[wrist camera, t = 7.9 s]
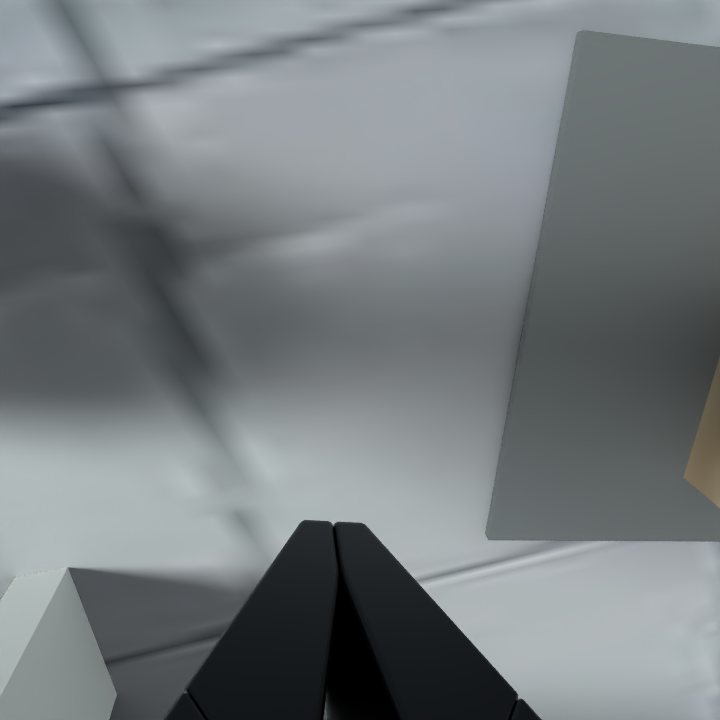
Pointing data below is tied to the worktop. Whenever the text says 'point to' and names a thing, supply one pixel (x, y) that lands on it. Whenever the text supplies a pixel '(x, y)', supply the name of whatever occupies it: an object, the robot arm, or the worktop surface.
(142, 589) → the worktop surface
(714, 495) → the maple slab
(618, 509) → the rubber mat
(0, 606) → the paper towel holder
